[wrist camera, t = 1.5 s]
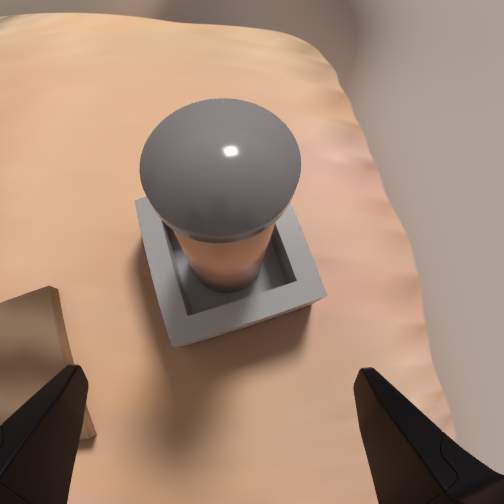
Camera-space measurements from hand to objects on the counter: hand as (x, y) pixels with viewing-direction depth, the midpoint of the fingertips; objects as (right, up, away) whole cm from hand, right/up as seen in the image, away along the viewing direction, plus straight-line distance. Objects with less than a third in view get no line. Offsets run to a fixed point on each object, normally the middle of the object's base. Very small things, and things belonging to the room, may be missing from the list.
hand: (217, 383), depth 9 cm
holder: (-1, +3, +15) cm, 15 cm away
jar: (-1, +4, +14) cm, 14 cm away
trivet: (-18, -6, +11) cm, 22 cm away
